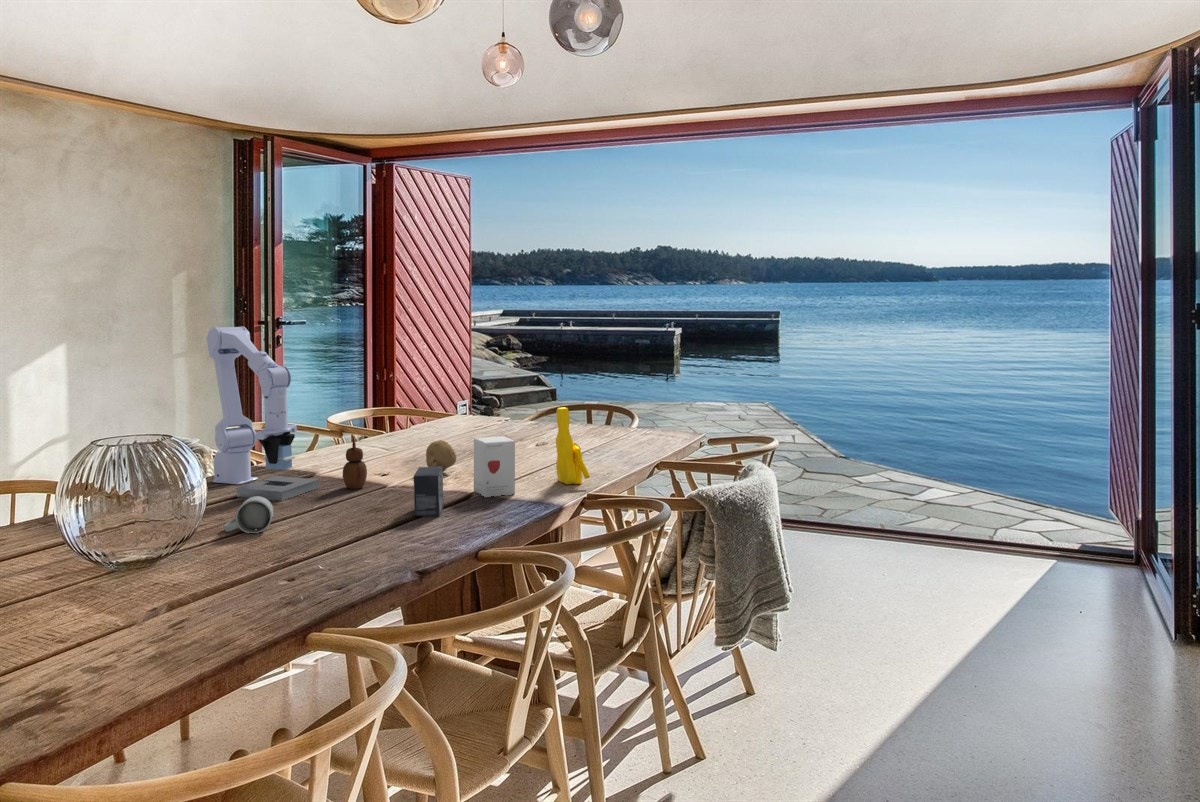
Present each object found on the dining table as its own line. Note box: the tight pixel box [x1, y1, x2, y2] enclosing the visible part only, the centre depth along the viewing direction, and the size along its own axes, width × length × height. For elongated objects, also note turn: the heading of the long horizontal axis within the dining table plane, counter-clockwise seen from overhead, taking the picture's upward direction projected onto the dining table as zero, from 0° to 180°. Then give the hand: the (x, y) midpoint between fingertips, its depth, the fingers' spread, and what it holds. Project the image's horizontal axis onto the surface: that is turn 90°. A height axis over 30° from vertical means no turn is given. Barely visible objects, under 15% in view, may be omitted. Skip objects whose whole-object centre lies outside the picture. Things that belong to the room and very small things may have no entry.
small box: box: [413, 466, 445, 518], centre depth 217 cm, size 11×6×10 cm, turn 5°
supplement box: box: [473, 435, 516, 498], centre depth 238 cm, size 9×9×15 cm
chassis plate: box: [236, 475, 320, 502], centre depth 237 cm, size 14×16×2 cm
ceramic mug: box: [223, 496, 274, 534], centre depth 199 cm, size 11×8×8 cm
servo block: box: [261, 444, 296, 471], centre depth 235 cm, size 8×4×6 cm, turn 73°
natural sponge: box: [425, 439, 457, 473], centre depth 264 cm, size 9×9×10 cm
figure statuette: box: [555, 406, 591, 485], centre depth 251 cm, size 18×8×22 cm, turn 28°
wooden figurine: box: [342, 435, 368, 490], centre depth 243 cm, size 7×6×15 cm
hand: (277, 462), depth 236 cm, fingers closed on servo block, 4 cm apart
